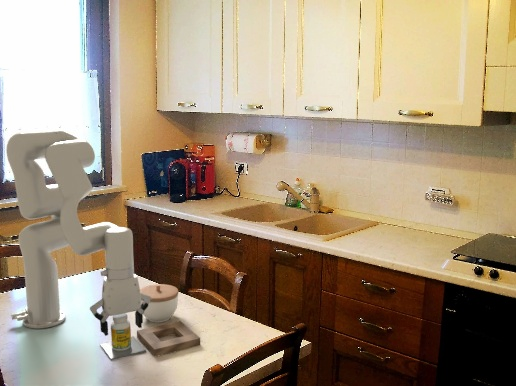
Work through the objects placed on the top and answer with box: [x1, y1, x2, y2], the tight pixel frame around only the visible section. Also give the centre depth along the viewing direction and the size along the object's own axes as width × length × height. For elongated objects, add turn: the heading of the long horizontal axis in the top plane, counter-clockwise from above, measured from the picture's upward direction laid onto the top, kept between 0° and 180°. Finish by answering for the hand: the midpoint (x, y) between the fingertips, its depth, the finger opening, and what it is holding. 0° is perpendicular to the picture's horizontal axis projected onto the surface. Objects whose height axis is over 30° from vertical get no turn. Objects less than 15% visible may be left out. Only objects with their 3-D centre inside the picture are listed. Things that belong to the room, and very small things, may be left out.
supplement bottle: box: [110, 313, 132, 351], centre depth 160 cm, size 5×5×10 cm
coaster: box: [99, 336, 147, 362], centre depth 161 cm, size 10×10×1 cm
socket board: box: [136, 320, 201, 357], centre depth 166 cm, size 14×14×2 cm
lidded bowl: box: [140, 283, 179, 323], centre depth 181 cm, size 13×13×11 cm
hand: (122, 329), depth 160 cm, fingers open, 9 cm apart
